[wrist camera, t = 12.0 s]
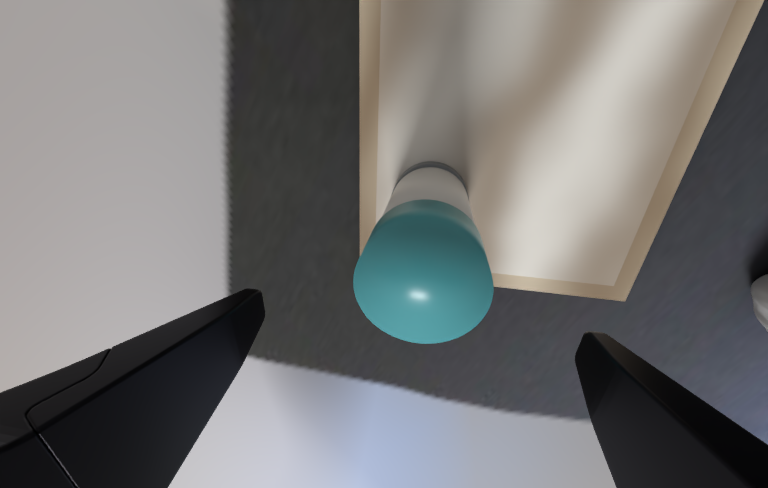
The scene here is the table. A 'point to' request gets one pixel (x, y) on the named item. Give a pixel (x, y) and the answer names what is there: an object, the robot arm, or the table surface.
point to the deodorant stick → (425, 260)
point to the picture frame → (546, 121)
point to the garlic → (761, 299)
